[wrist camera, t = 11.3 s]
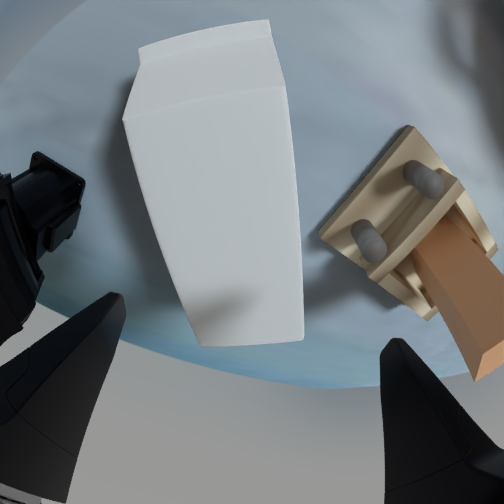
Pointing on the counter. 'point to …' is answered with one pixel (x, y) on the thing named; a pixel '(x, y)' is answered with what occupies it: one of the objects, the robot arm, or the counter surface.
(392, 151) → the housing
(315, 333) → the counter surface
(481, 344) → the block
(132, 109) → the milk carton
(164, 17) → the counter surface
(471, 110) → the counter surface
